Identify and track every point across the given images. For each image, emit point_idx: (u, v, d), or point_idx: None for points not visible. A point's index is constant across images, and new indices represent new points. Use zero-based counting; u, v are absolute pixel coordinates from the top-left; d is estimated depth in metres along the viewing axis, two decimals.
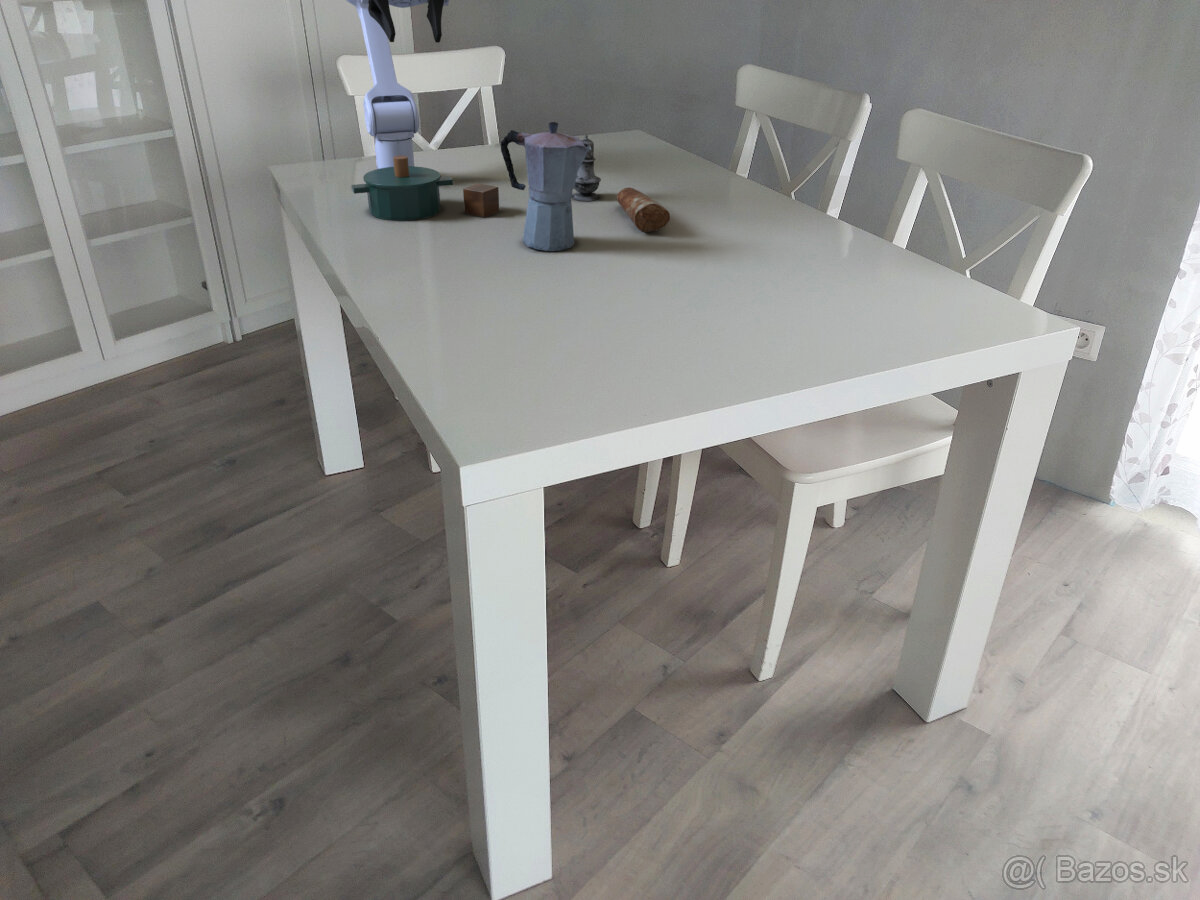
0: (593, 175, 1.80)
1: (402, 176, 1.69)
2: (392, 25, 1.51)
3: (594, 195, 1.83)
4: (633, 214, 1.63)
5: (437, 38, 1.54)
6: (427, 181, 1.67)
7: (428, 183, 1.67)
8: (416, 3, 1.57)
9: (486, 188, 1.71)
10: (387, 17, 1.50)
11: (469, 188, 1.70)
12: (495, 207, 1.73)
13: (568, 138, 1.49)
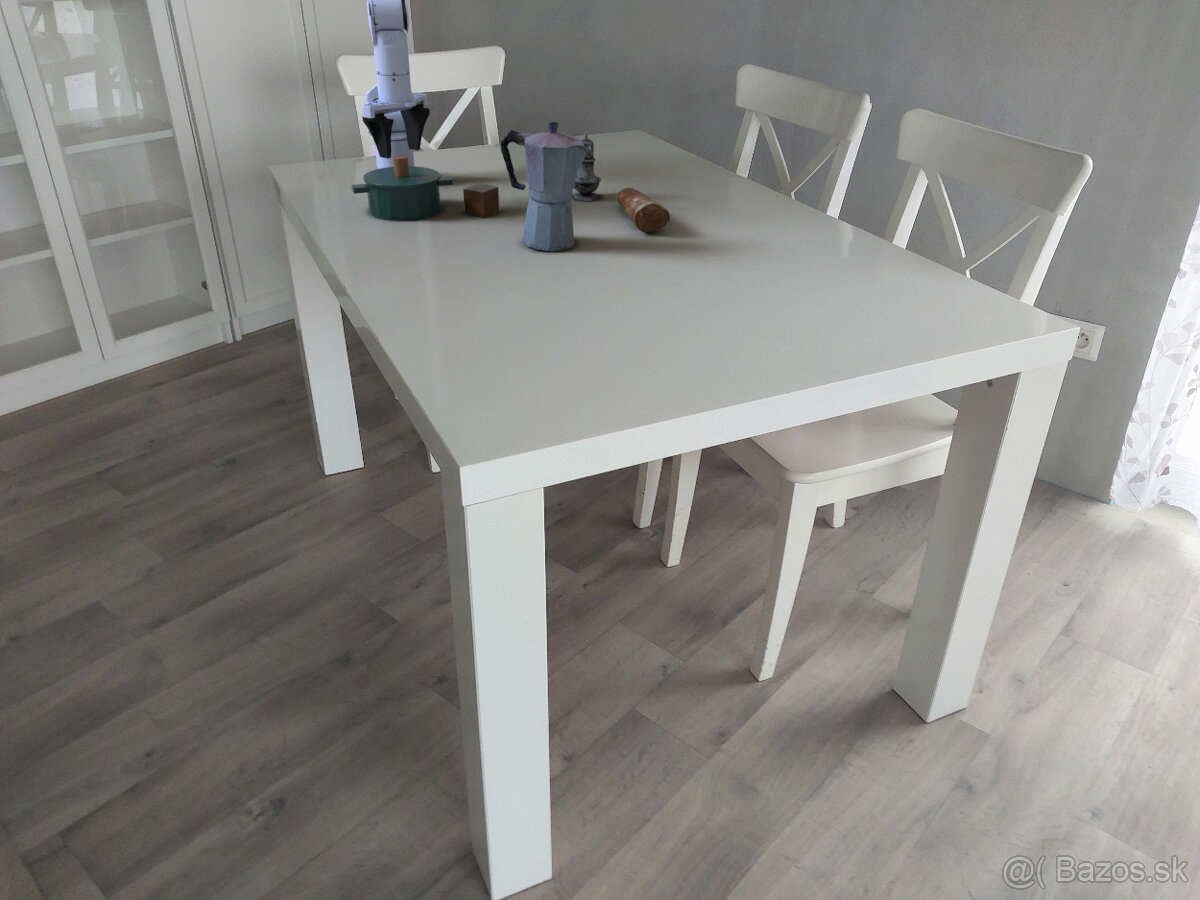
0: (593, 175, 1.80)
1: (402, 176, 1.69)
2: (390, 150, 1.64)
3: (594, 195, 1.83)
4: (633, 214, 1.63)
5: (413, 149, 1.71)
6: (427, 181, 1.67)
7: (428, 183, 1.67)
8: None
9: (486, 188, 1.71)
10: (388, 143, 1.63)
11: (469, 188, 1.70)
12: (495, 207, 1.73)
13: (568, 138, 1.49)
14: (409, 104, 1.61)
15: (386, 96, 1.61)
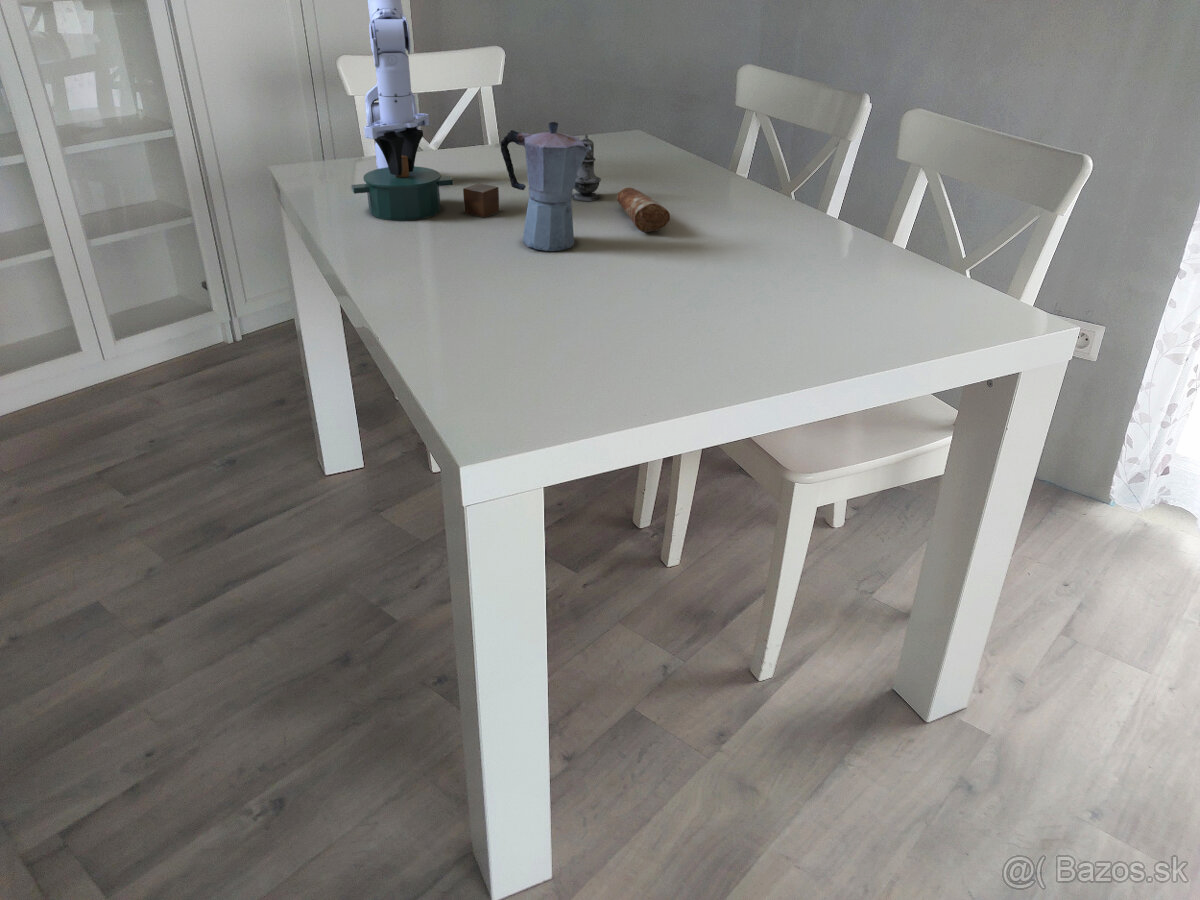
0: (593, 175, 1.80)
1: (402, 176, 1.69)
2: (400, 168, 1.68)
3: (594, 195, 1.83)
4: (633, 214, 1.63)
5: None
6: (427, 181, 1.67)
7: (428, 183, 1.67)
8: None
9: (486, 188, 1.71)
10: (398, 161, 1.67)
11: (469, 188, 1.70)
12: (495, 207, 1.73)
13: (568, 138, 1.49)
14: (411, 125, 1.63)
15: (388, 116, 1.62)
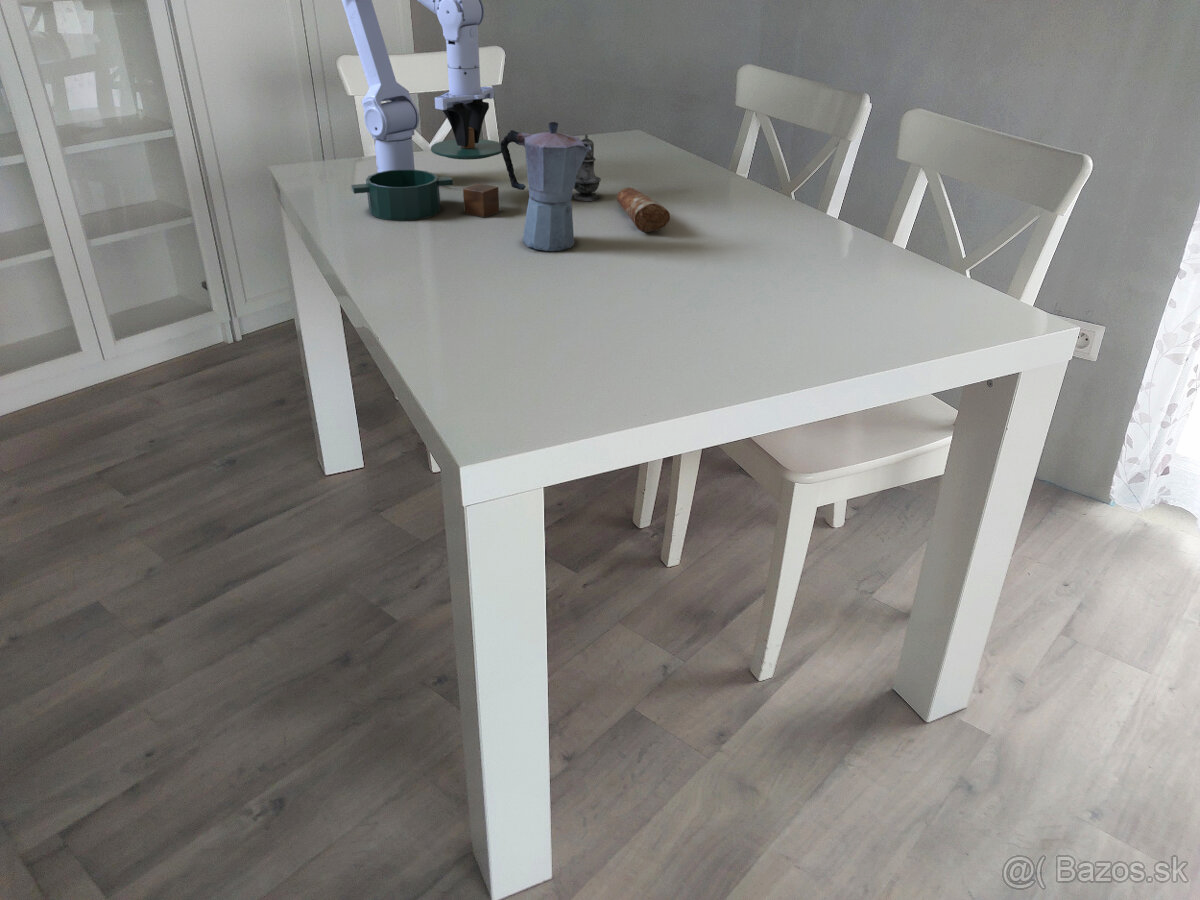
0: (593, 175, 1.80)
1: (468, 147, 1.74)
2: (467, 139, 1.73)
3: (594, 195, 1.83)
4: (633, 214, 1.63)
5: None
6: (493, 152, 1.72)
7: (494, 154, 1.72)
8: None
9: (486, 188, 1.71)
10: (466, 132, 1.72)
11: (469, 188, 1.70)
12: (495, 207, 1.73)
13: (568, 138, 1.49)
14: (479, 96, 1.68)
15: (457, 88, 1.68)
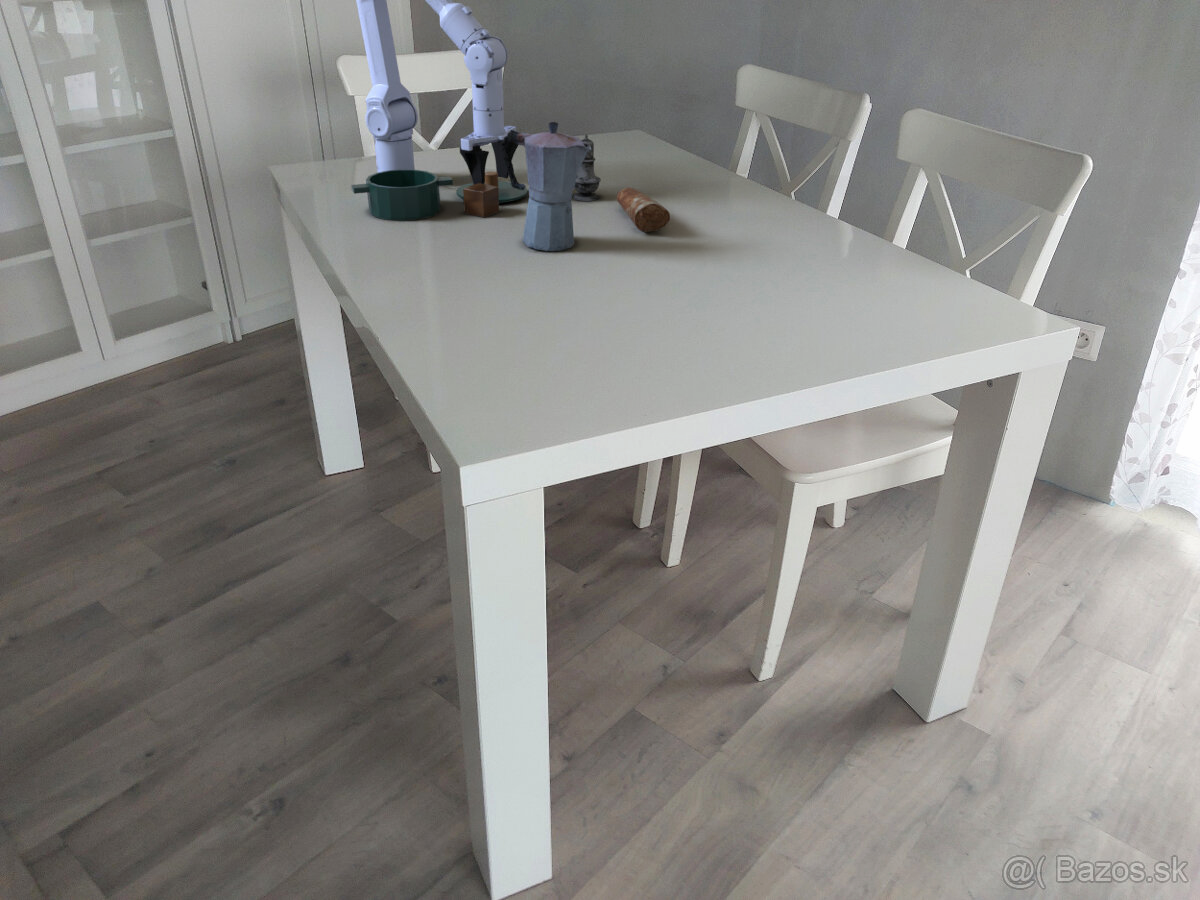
0: (593, 175, 1.80)
1: None
2: (484, 179, 1.77)
3: (594, 195, 1.83)
4: (633, 214, 1.63)
5: (502, 177, 1.84)
6: (517, 196, 1.79)
7: (518, 197, 1.79)
8: None
9: (486, 188, 1.71)
10: (482, 173, 1.76)
11: (469, 188, 1.70)
12: (495, 207, 1.73)
13: (568, 138, 1.49)
14: (503, 137, 1.75)
15: (482, 129, 1.74)
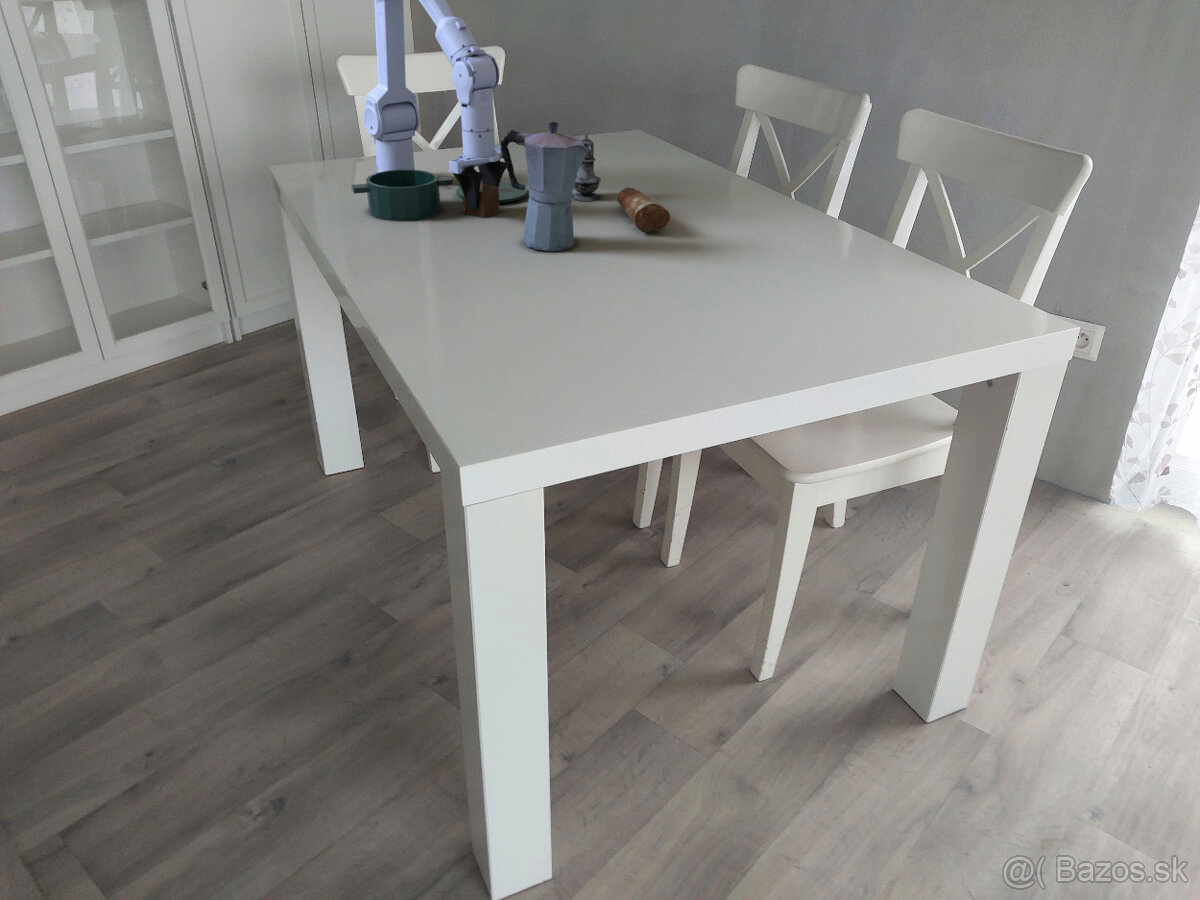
0: (593, 175, 1.80)
1: None
2: (478, 202, 1.70)
3: (594, 195, 1.83)
4: (633, 214, 1.63)
5: None
6: (517, 196, 1.79)
7: (518, 197, 1.79)
8: None
9: (486, 188, 1.71)
10: (477, 195, 1.68)
11: None
12: (495, 207, 1.73)
13: (568, 138, 1.49)
14: (494, 159, 1.66)
15: (472, 151, 1.65)
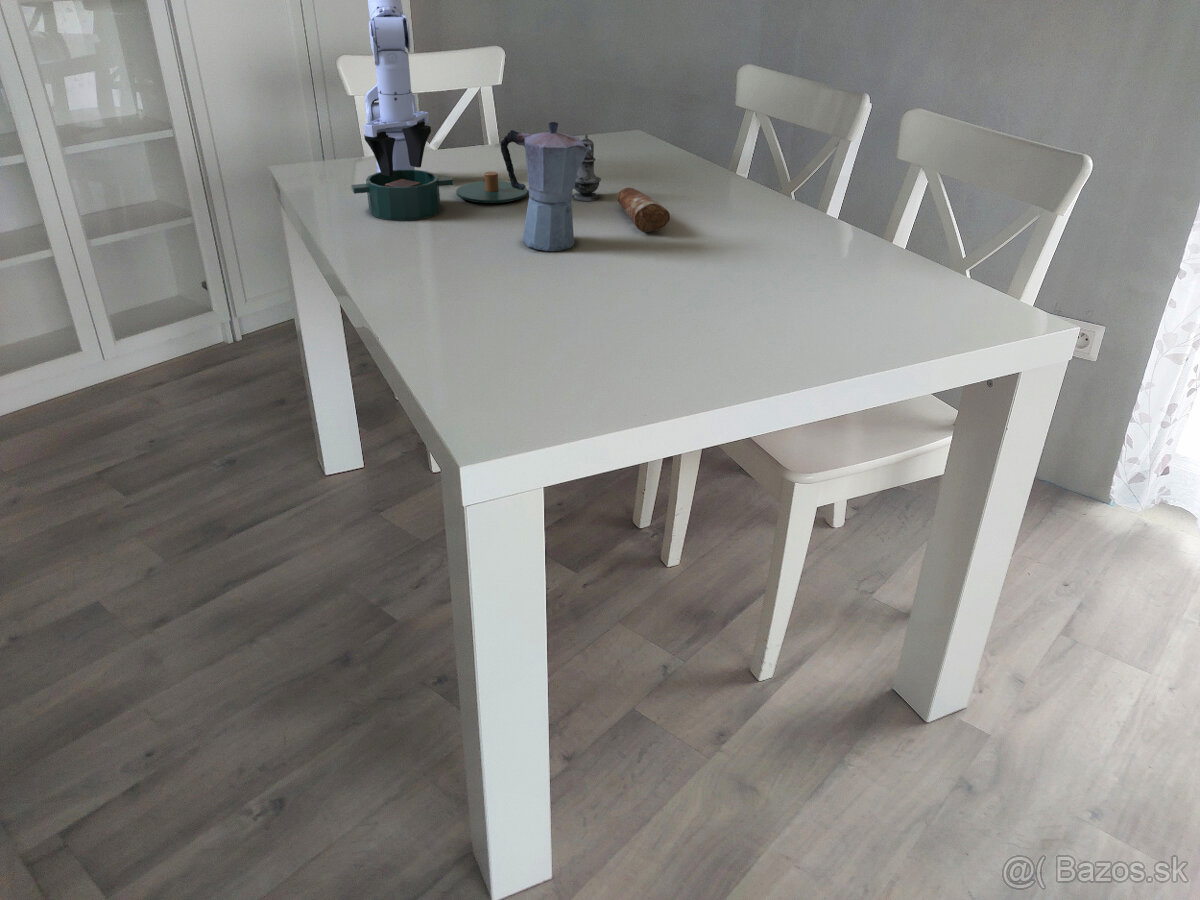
0: (593, 175, 1.80)
1: (492, 191, 1.81)
2: (392, 168, 1.66)
3: (594, 195, 1.83)
4: (633, 214, 1.63)
5: (414, 166, 1.73)
6: (517, 196, 1.79)
7: (518, 197, 1.79)
8: None
9: (408, 184, 1.71)
10: (389, 161, 1.65)
11: (391, 184, 1.70)
12: None
13: (568, 138, 1.49)
14: (411, 123, 1.63)
15: (388, 114, 1.62)
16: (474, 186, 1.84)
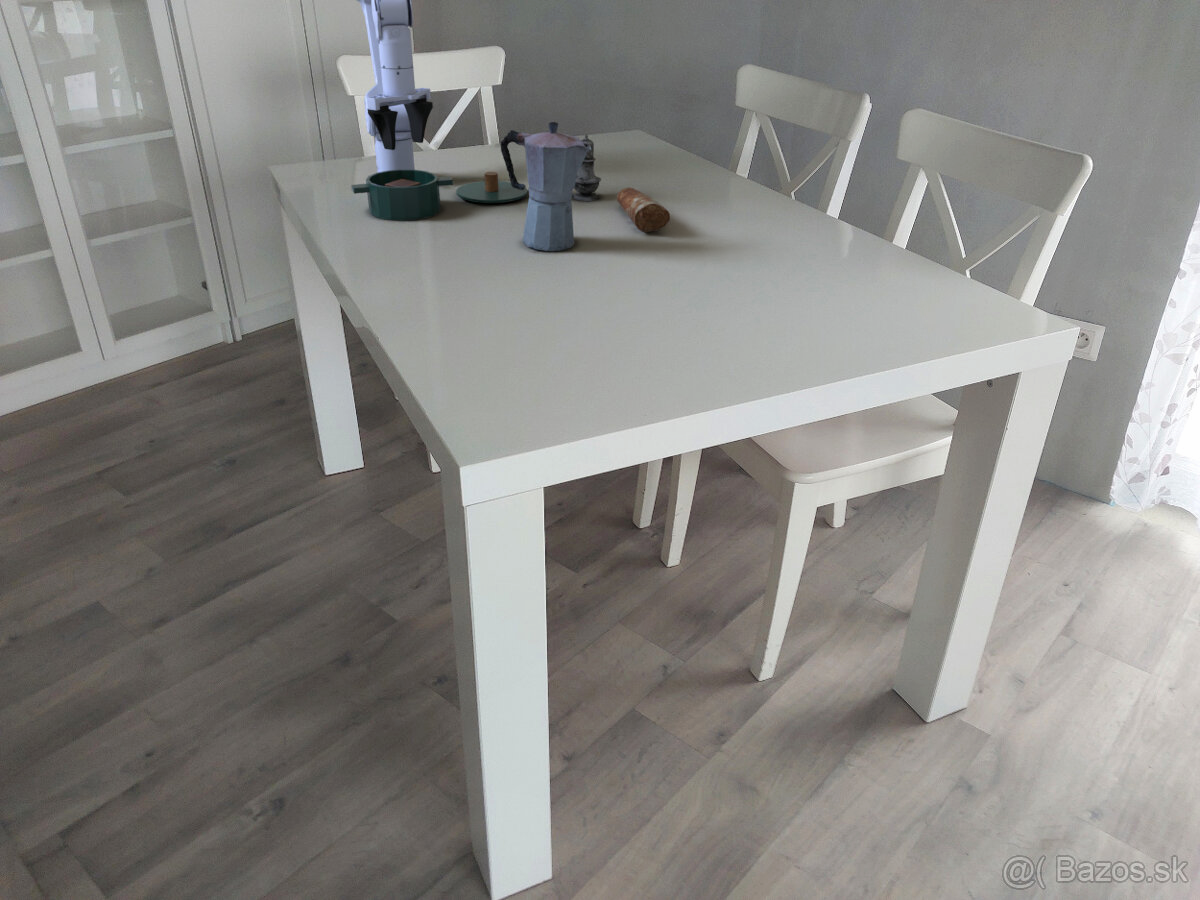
0: (593, 175, 1.80)
1: (492, 191, 1.81)
2: (394, 142, 1.69)
3: (594, 195, 1.83)
4: (633, 214, 1.63)
5: (417, 142, 1.76)
6: (517, 196, 1.79)
7: (518, 197, 1.79)
8: None
9: (408, 184, 1.71)
10: (392, 135, 1.68)
11: (391, 184, 1.70)
12: None
13: (568, 138, 1.49)
14: (413, 97, 1.66)
15: (390, 89, 1.66)
16: (474, 186, 1.84)
